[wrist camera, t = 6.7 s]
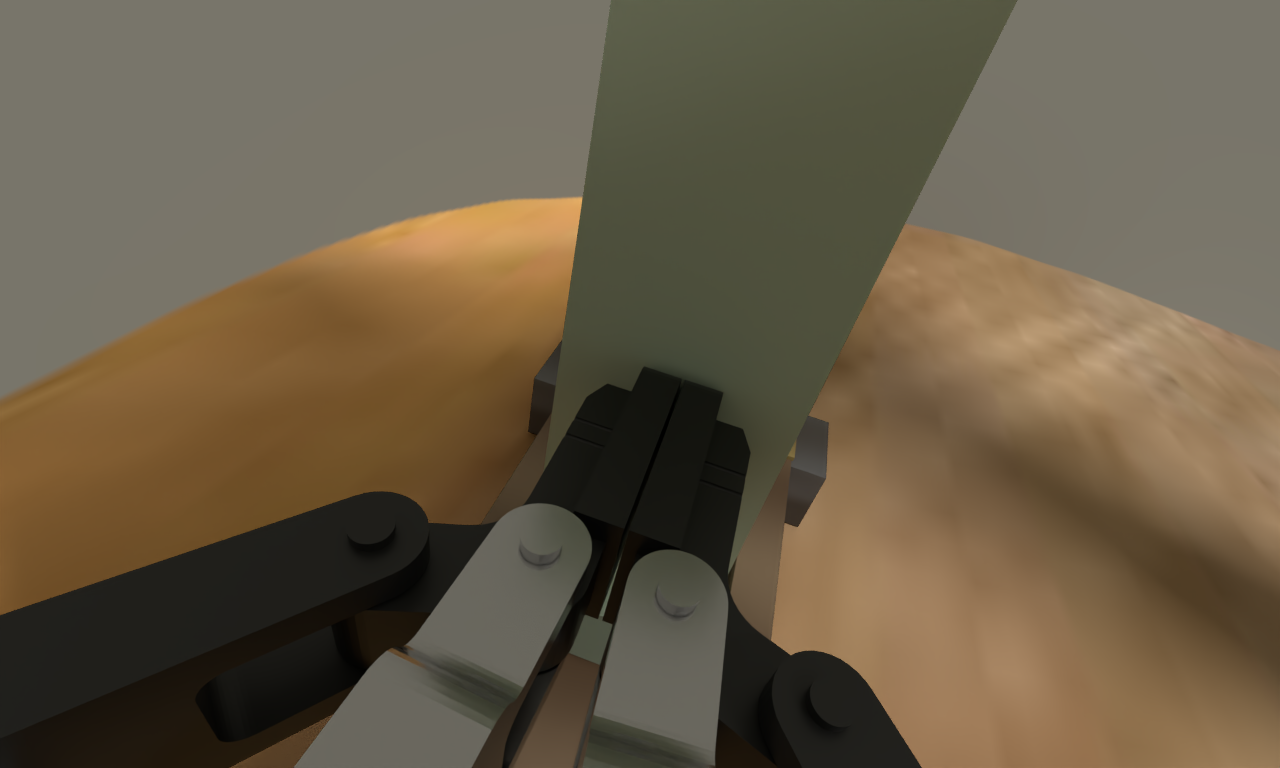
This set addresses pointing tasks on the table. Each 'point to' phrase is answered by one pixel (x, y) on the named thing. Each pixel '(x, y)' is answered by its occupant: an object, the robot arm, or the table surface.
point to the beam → (749, 578)
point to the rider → (753, 200)
